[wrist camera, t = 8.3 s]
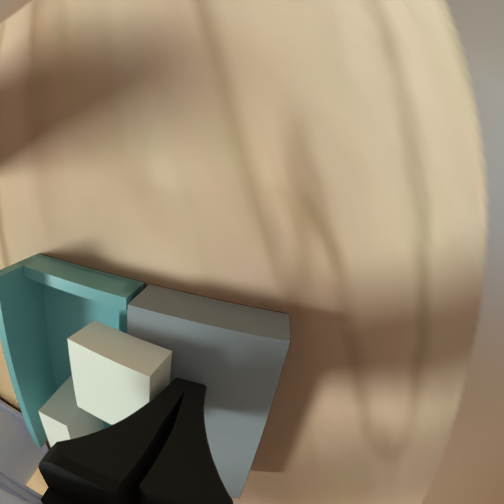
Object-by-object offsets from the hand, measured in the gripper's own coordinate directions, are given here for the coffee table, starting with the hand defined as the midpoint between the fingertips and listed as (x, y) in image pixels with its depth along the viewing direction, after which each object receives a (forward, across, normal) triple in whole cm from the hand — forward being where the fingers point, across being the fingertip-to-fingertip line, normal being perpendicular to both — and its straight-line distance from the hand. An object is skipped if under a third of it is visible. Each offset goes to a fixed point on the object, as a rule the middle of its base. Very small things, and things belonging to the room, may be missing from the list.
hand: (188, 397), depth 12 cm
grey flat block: (+3, 0, +3) cm, 4 cm away
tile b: (+1, +3, 0) cm, 3 cm away
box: (+3, +7, +3) cm, 8 cm away
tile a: (+1, +6, +6) cm, 9 cm away
